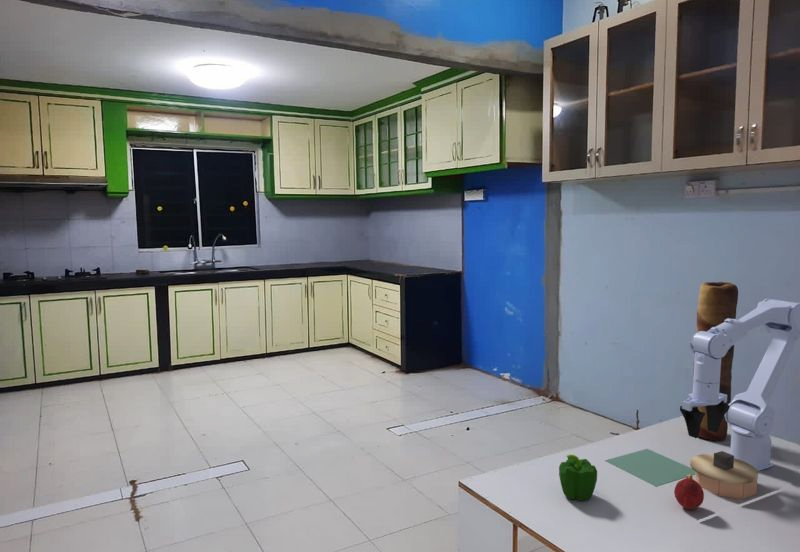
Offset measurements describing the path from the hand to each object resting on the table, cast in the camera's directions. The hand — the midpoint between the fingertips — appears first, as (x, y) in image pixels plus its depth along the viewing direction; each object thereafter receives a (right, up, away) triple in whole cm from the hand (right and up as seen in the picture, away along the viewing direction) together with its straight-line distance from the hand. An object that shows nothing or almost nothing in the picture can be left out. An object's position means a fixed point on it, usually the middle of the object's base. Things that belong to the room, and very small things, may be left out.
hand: (703, 433), depth 140 cm
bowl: (+2, -11, -6) cm, 13 cm away
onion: (-12, -13, -16) cm, 23 cm away
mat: (-11, -10, +5) cm, 15 cm away
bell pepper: (-34, -12, -9) cm, 37 cm away
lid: (+2, -7, -6) cm, 9 cm away
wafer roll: (+16, -8, +25) cm, 31 cm away
